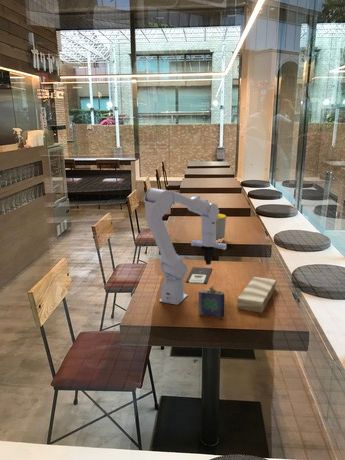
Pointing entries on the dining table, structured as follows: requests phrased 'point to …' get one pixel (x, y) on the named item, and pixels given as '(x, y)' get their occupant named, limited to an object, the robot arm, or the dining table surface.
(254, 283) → the striped cream block
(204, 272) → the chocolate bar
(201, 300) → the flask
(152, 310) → the dining table surface
